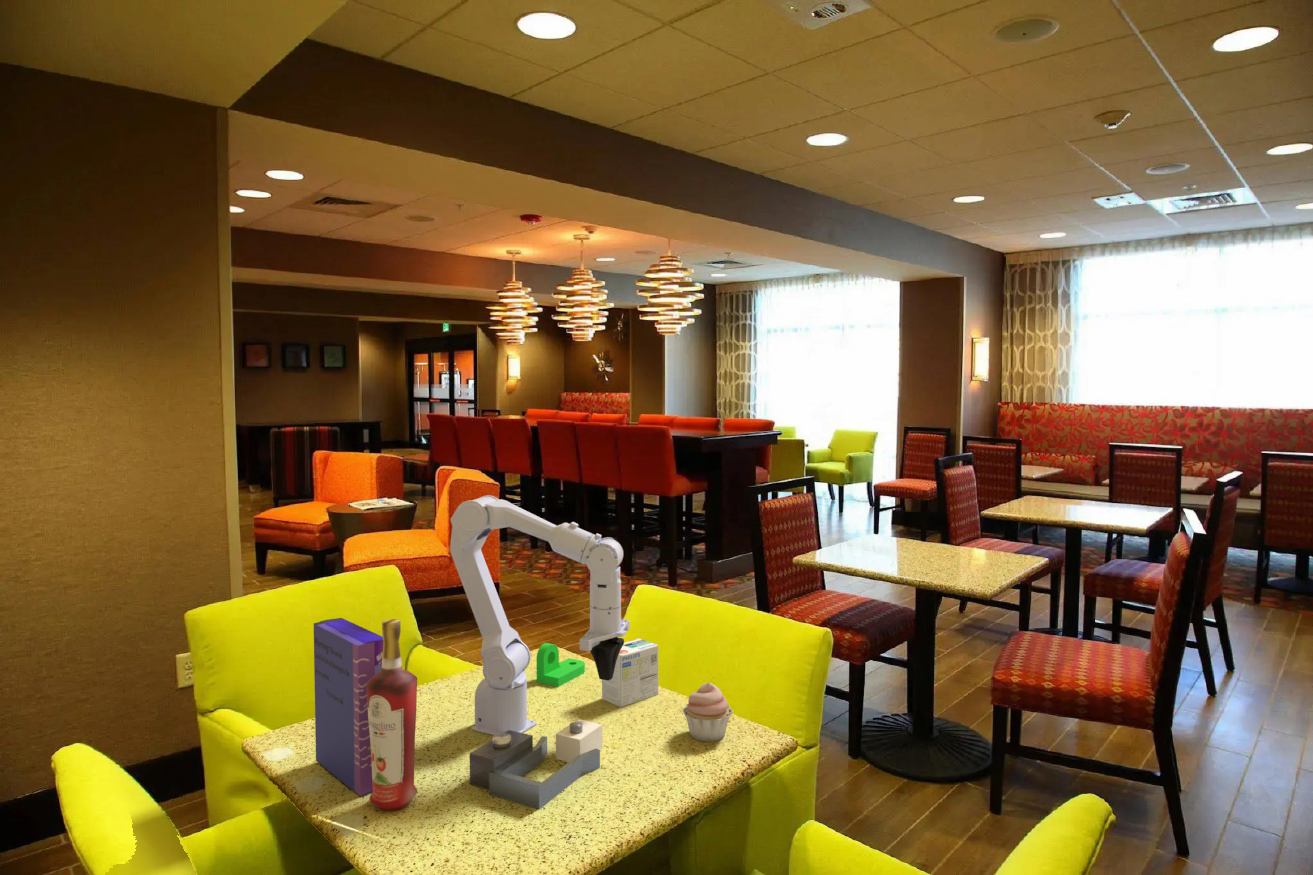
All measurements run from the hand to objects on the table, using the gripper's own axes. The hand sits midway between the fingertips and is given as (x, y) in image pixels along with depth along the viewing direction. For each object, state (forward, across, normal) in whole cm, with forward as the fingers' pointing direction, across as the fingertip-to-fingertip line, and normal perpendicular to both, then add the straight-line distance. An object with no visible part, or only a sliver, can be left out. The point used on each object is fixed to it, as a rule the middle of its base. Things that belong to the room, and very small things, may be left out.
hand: (605, 678), depth 140 cm
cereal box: (+11, -32, +30) cm, 45 cm away
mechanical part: (+11, +22, +24) cm, 35 cm away
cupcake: (+11, +8, -17) cm, 22 cm away
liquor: (+11, -36, +16) cm, 41 cm away
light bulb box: (+11, +18, +5) cm, 22 cm away
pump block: (+11, -9, 0) cm, 14 cm away
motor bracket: (+10, -20, 0) cm, 23 cm away
